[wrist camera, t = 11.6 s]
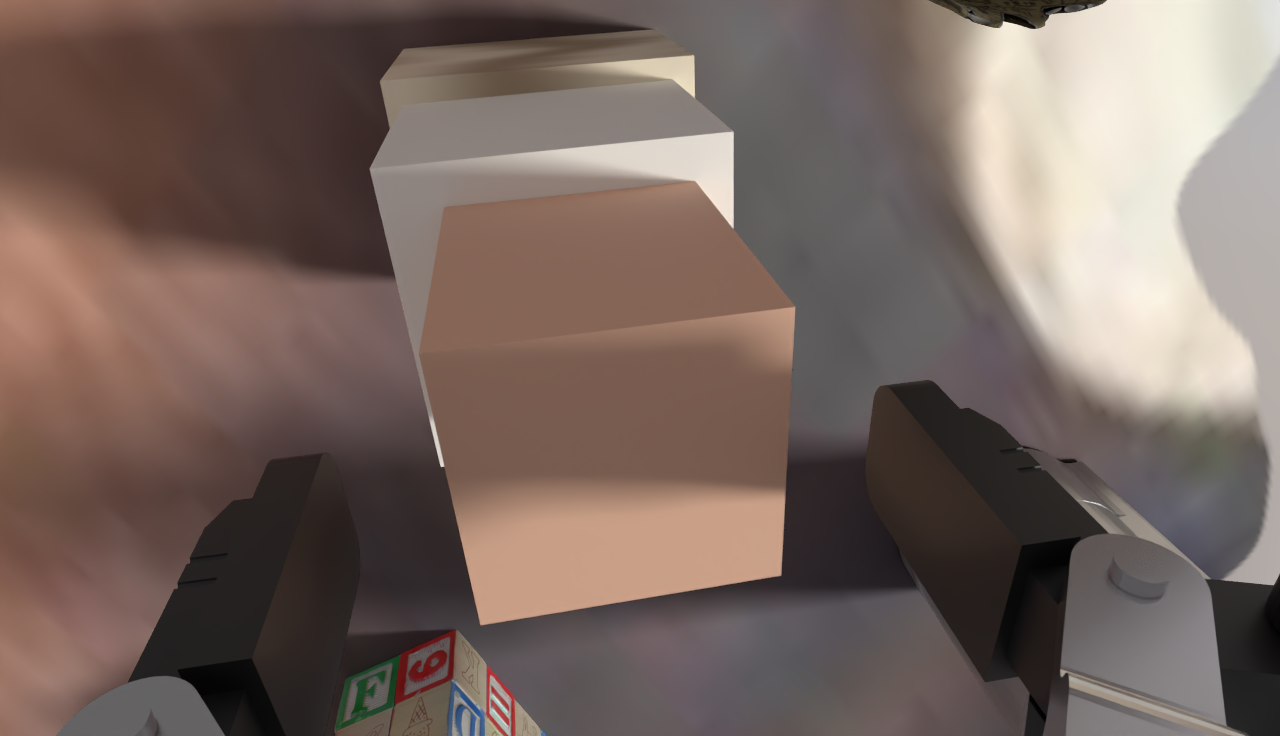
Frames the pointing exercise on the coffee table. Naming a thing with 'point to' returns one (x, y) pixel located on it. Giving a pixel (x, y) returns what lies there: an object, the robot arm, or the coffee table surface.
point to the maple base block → (533, 67)
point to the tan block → (607, 398)
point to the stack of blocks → (431, 696)
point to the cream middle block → (534, 164)
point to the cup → (1014, 10)
